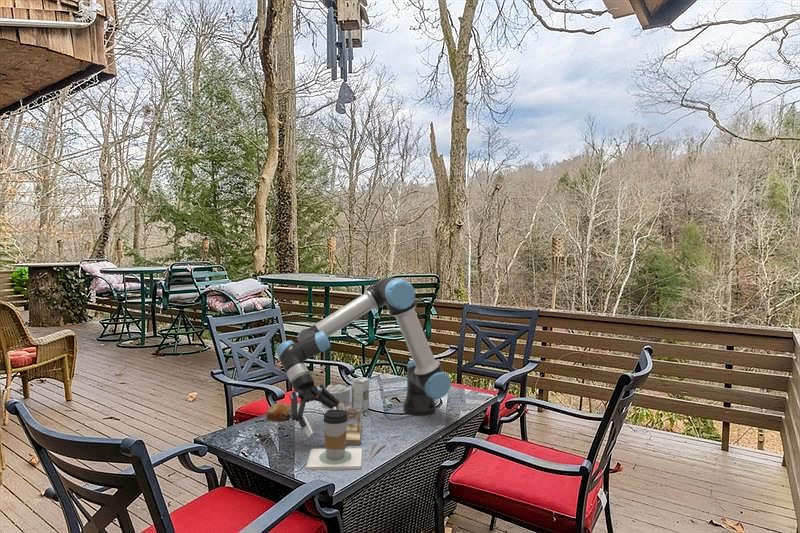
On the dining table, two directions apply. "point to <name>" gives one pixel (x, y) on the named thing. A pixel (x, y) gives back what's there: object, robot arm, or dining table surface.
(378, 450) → the tweezers
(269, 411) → the brown rounded lump
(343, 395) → the lumpy-topped squat cylinder
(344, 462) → the board
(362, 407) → the syrup box
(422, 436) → the dining table surface
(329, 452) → the coffee cup
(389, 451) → the dining table surface
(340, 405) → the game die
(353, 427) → the toy catapult
